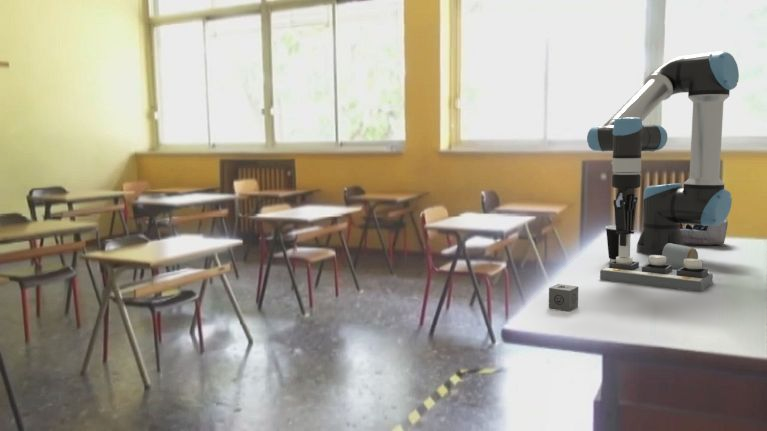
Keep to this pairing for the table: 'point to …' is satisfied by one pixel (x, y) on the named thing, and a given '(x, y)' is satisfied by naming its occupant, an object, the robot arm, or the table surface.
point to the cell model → (703, 234)
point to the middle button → (657, 260)
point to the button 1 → (624, 260)
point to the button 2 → (692, 263)
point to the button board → (658, 276)
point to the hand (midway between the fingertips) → (624, 256)
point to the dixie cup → (612, 242)
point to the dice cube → (563, 297)
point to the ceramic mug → (678, 255)
